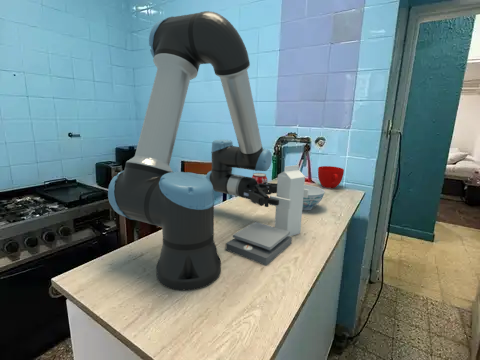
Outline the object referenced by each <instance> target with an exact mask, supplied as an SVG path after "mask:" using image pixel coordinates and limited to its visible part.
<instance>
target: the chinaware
mask: <svg viewBox="0 0 480 360" xmlns="http://www.w3.org/2000/svg"><path fill="white" fill-rule="evenodd" d="M304 189H308V190H309V191H308V198H304V197H303V207H302V211H311V210H313V208H314V207H316V206H317V205H318V204H319V203H320V202H321V201H322V200H323V198H324V197H325V193H326V192H325V189H323V188H321V187H318V186H314V185H307V184H304Z"/></svg>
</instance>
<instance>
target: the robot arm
mask: <svg viewBox="0 0 480 360" xmlns="http://www.w3.org/2000/svg"><path fill="white" fill-rule="evenodd" d="M148 46H149V47H150V54H151V56H152V58H153V59H152V61H153V64H154V66H155V68H156V72H155V77H154V82H153V85H152V88H151V93H150V96H149V100H148V103H147V108H146V111H145V116H144V119H143V123H142V128H141V131H140V135H139V138H138V142H137V147H136V150H135V152H134V153H135V154H134V156H133V157H131V158H130V159H129V160H127V161H126V162H125V166H124V170H121V171H120V172H118V173H117V174H116V175H115V176H113V177H112V179H111V180H110V183H109V184H108V189H107V197H108V201H109V204H110V206H111V208H112V209H113V211H114V212H116V213H117V214H118V215H120V216H121V217H125V218H127V219H129V220H132V221H138V222H142V223H147V224H149V225H153V226H156V227H160V228H161V230H162V246H161V251H160V255H159V259H158V260H157V263H156V265H155V266H156V268H155V269H156V271H155V272H156V279H157V281H158V282H159V283H160V284H161V285H162V286H163V287H166V288H167V289H171V290H175V291H194V290H198V289H202V288H205V287H207V286H209V285H211V284H212V283H214V282H216V280H217V279H218V278H219V277H220V275H221V271H222V262H221V261H222V260H221V257H220V255H219V254H218V249H217V246H216V244H215V240H214V237H215V236H214V232H215V230H214V228H215V217H214V216H215V212H214V211H215V209H214V208H215V201H216V200H215V195H214V192H215V193H223V194H227V195H230V196H234V197H235V198H237V197H239V198H241V199H245V200H246V199H247V200H250V201H251V202H253V203H255V204H256V205H258V206H261V207H262V206H263V207H265V208H268V207H269V205H270V206H274V207H276V206H277V207H282V208H286V209H290V204H291V200H290V199H285V198H280V197H277V195H276V196H275V195H272V194H277V182H276V183H275V182H268V181H267V182H264V184H263V183H260V184H258V183H257V181H256V179H254V178H252V176H251V177H250V176H244V175H239V174H234V173H233V172H232V171H233V168H235V169H240V170H241V169H242V170H250V171H255V172H267V171H268V170H269V169H270V168H271V165H272V161H273V155H272V152H271V150H270V149H268V148H264V147H263V144H262V140H261V134H260V129H259V123H258V120H257V119H258V118H257V114H256V109H255V104H254V98H253V93H252V89H251V85H250V84H251V83H250V82H251V81H250V79H249V74H248V69H249V68H250V66H251V63H250V58H249V53H248V51H247V47H246V45H245V43H244V40H243V39H242V37H241V35H240V34H239V32H238V30H237V29H236V27H234V25H233V24H232V23H231V21H229V20H228V19H227V18H225V17H224V16H222V15H221V14H219V13H218V12H215V11H209V10H207V11H200V12H196V13H190V14H184V15H183V14H182V15H177V16H173V15H172V16H167V17H165V18H164V19H160V20H158V21H156V22H155V23H154V25H153V26H152V28H151V29H150V32H149V37H148ZM207 64H210V65H211V66H212V67H213V72H214V74H215V75H216V76H217V77H218V78H219V79H220V82H221V86H222V89H223V94H224V97H225V100H226V104H227V107H228V110H229V111H228V112H229V114H230V118H231V122H232V126H233V130H234V134H235V137H236V140H237V144H238V146H235V145H234V144H233V143H234V142H233V141H232V140H229V139H214V140H213V141H212V142H211V153H210V154H211V170H210V171H208V172H207V174H206V175H205V176H204V175H201V174H198V173H194V172H191V171H190V172H188V171H187V172H186V171H185V172H184V171H173V169H172V168H171V165H170V164H171V160H172V155H173V152H174V147H175V143H176V139H177V134H178V131H179V127H180V123H181V118H182V114H183V110H184V107H185V103H186V98H187V94H188V89H189V87H190V86H189V85H190V82H191V81H192V80H193V79H194V80H195V78H197V77H198V74H199V69H200V65H207ZM308 191H309V190H308V189H304V196H303V197H304V198H308ZM269 195H270V196H269Z"/></svg>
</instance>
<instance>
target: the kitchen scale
mask: <svg viewBox="0 0 480 360" xmlns="http://www.w3.org/2000/svg"><path fill="white" fill-rule="evenodd" d="M288 235H290V232H289V231H286V230H283V229H279V228H276V227H275V226H272V225H269V224H266V223H263V222H259V221H254V222H252V223H251V224H249V225H247V226H245V227H243V228H242V229H241V230H238V231H237V232H235V233H233V234H232V239H230V240H229V241H227V242H225V250H226V251H227V252H228V251H229V252H230V253H231V252H232V253H233V254H236V255H238V256H241V257H243V258H246V259H249V260H252V261H255V262H257V263H259V264H262V265H265V266H268V264H270V263H271V262H272V261H273V260H274V259H275V258H276V257H277V256H279V255H280V254H281V253H283V251H284V250H285V249H287V248H288V247H289V246H291V244H292V241H293V236H288Z"/></svg>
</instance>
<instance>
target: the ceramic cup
mask: <svg viewBox="0 0 480 360" xmlns="http://www.w3.org/2000/svg"><path fill="white" fill-rule="evenodd" d="M344 172H345V169H344V168H342V167H337V166H331V165H327V166H326V165H324V166H322V165H321V166H319V167H318V168H317V176H318V177H317V178H318V181H319V183H320V185H322V187H323V188H326V189H335V188H337V186H339V185H340V184H341V183H342V180H343V178H344Z"/></svg>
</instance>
